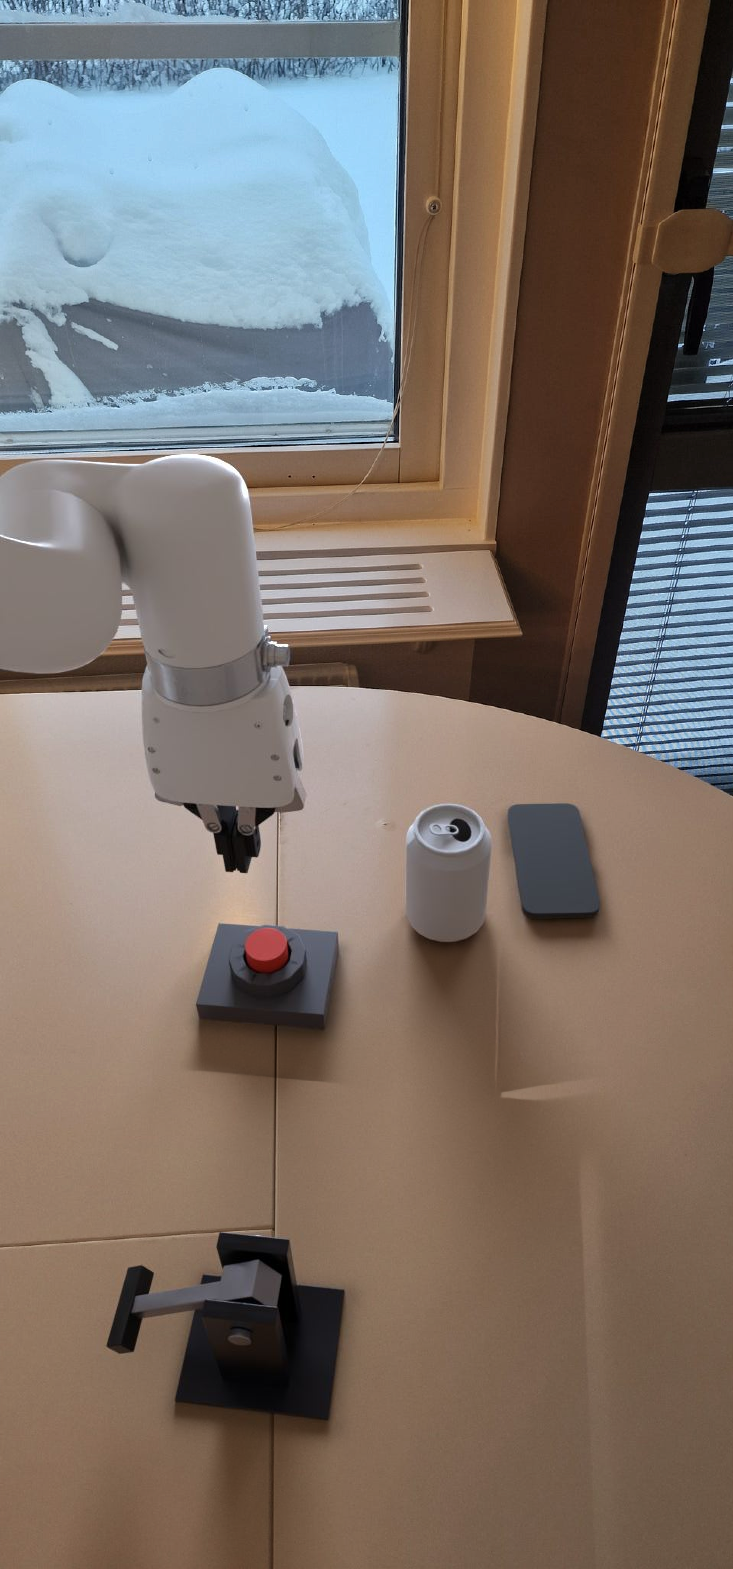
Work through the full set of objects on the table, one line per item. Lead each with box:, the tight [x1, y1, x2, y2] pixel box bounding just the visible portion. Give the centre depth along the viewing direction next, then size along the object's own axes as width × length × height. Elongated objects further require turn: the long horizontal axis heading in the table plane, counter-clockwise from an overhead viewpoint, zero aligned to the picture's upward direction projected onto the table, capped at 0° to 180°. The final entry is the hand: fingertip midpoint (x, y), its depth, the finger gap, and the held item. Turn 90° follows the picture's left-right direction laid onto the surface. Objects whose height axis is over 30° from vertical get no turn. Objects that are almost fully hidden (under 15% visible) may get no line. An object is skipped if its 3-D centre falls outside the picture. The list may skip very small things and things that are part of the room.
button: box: [245, 928, 288, 973], centre depth 89 cm, size 4×4×2 cm
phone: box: [507, 802, 601, 919], centre depth 102 cm, size 7×1×15 cm
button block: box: [195, 922, 340, 1030], centre depth 91 cm, size 11×9×4 cm
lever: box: [105, 1260, 282, 1355], centre depth 65 cm, size 12×5×2 cm
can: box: [405, 803, 493, 943], centre depth 93 cm, size 8×8×12 cm
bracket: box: [174, 1231, 346, 1421], centre depth 66 cm, size 10×8×12 cm
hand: (240, 858), depth 77 cm, fingers closed
